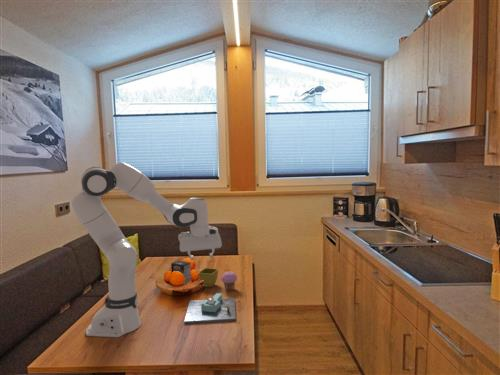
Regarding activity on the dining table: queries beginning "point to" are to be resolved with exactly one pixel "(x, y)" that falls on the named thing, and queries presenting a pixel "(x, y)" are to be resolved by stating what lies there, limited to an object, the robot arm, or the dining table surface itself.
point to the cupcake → (229, 280)
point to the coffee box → (182, 269)
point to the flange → (212, 308)
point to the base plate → (221, 315)
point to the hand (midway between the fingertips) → (201, 258)
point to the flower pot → (208, 276)
